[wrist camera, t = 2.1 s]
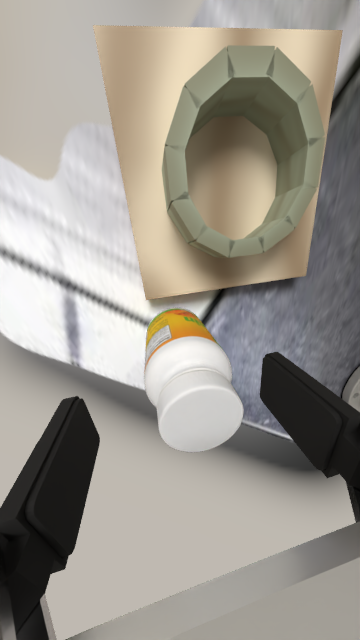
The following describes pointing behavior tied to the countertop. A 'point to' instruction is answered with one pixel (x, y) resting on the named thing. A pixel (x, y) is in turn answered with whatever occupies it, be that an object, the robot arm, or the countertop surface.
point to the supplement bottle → (189, 383)
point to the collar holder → (219, 148)
